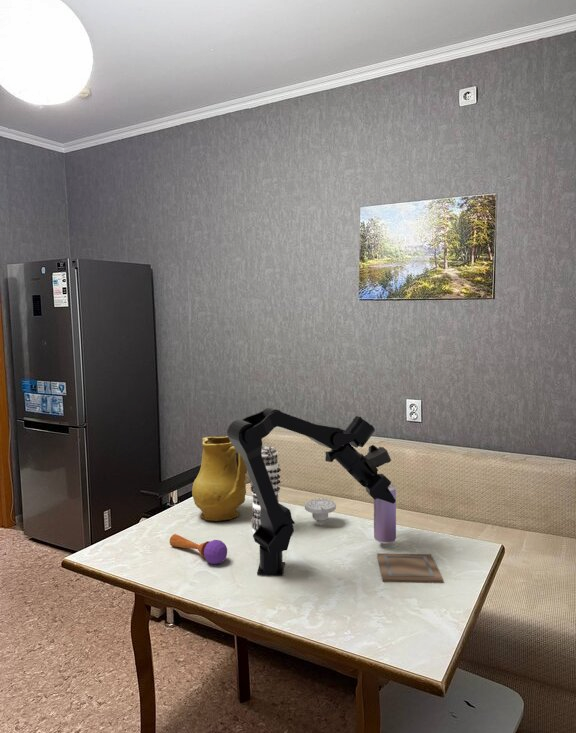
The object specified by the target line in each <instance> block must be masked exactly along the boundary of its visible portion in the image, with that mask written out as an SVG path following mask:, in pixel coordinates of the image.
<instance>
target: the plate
mask: <svg viewBox="0 0 576 733" xmlns="http://www.w3.org/2000/svg"><path fill="white" fill-rule="evenodd" d="M376 557H377V558H376V559H377V561H378V567H379V571H380V576H381V580H382V582H383V583H424V584H425V583H426V584H427V583H431V584H432V582H433V584H435V583H436V584H437V583H438V584H441V583H442V584H443V583H444V580H443V578H442V577H443V576H442V575H441V572H440V571H439V569H438V567H437V564H436V562H435V560H434V558H433V555H432V554H431V553H381V552H380V553H379V552H377V553H376Z"/></svg>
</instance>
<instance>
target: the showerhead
mask: <svg viewBox="0 0 576 733" xmlns="http://www.w3.org/2000/svg"><path fill="white" fill-rule="evenodd" d="M336 508H337V503H336V502H335V501H334V500H331V499H328V498H320V497H318V498H314V499H313V498H312V499H309V500H307V501H306V502H305V503H304V510H306V512H309V513H312V519H313V520H315V521H316V525H318V526H323V525H325V521H326V520H328V519H329V513H330V514H331V513H333V512H334V511H336Z"/></svg>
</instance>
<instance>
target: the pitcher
mask: <svg viewBox="0 0 576 733" xmlns="http://www.w3.org/2000/svg"><path fill="white" fill-rule="evenodd" d="M201 441H202V453H201V454H202V456H201V463H200V464H201V465H200V469H199V472H198V474H197V476H196V478H194V481H193V484H192V488H191V495H192V498H193V501H194V502H193V503H194V505H195V506H196V507H197V508H198V509H199V510H200V511H201V513H200V517H201V518H202V519H203V520H205V521H215V522H217V521H226V520H232V519H234V518H238V517H239V515H240V512H239V511H238V508H239V507H240V506H241V505H242V504H244V503H245V501H246V495H247V488H246V487H247V484H246V483H247V482H246V479H247V478H246V477H247V476H246V475H247V474H248V471H247V469H246V466H245V463H244V460H243V458H242V457H241V456H240V454H239V453H238V452H237V450H236V449H235V448H234V446H233V445H232V443H231V441H230V440H229V438H228V435H227V436H206V437H202V439H201ZM237 454H238V465H237Z"/></svg>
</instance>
